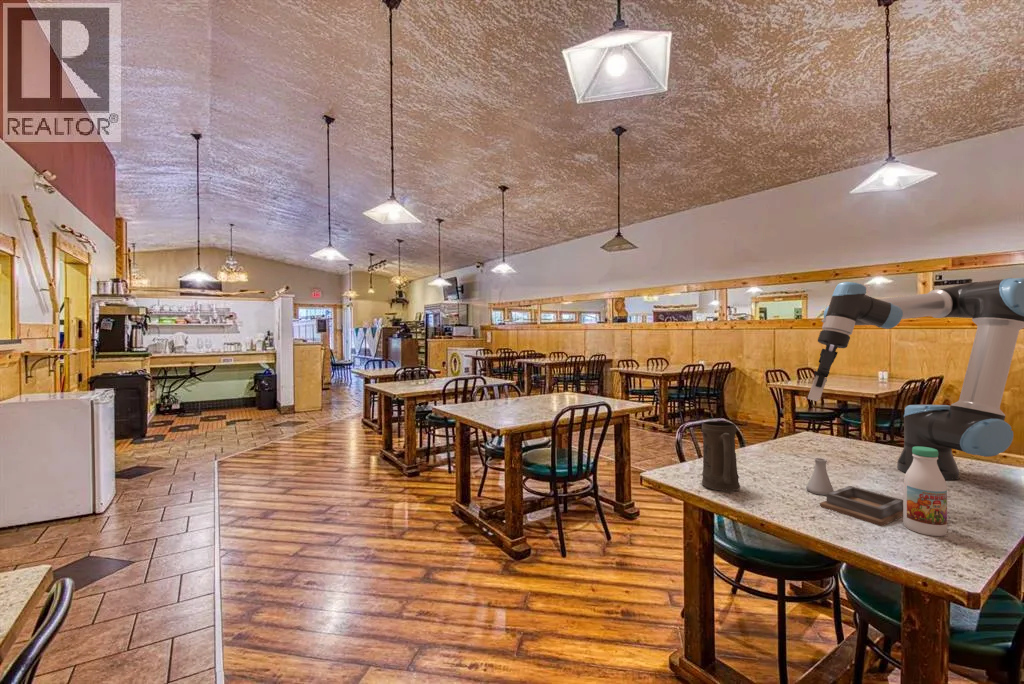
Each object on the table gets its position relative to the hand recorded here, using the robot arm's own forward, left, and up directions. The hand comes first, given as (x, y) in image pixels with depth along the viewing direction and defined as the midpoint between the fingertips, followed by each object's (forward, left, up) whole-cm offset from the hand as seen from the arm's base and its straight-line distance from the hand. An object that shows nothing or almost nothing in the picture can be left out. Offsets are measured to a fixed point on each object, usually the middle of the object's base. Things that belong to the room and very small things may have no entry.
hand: (813, 399), depth 132 cm
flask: (0, +2, -28) cm, 28 cm away
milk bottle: (+5, +28, -28) cm, 40 cm away
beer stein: (+23, -14, -28) cm, 39 cm away
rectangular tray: (+4, +15, -28) cm, 32 cm away
